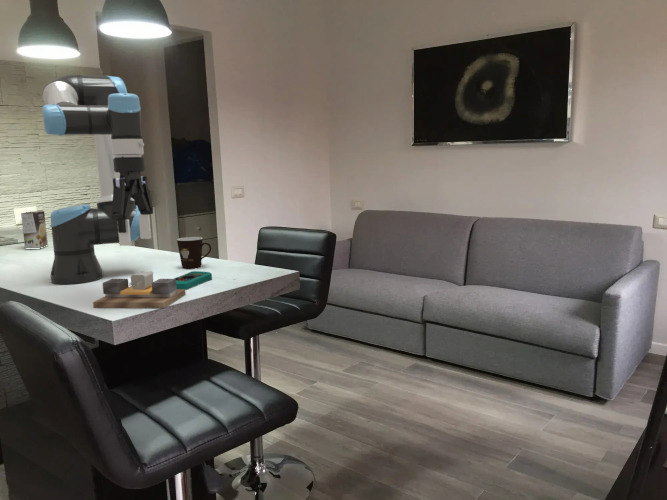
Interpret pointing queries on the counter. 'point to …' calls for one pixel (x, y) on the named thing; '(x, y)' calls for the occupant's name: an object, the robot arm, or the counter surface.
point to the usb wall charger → (141, 280)
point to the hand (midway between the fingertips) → (136, 241)
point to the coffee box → (34, 229)
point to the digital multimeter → (192, 279)
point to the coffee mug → (191, 251)
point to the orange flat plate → (136, 291)
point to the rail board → (160, 297)
